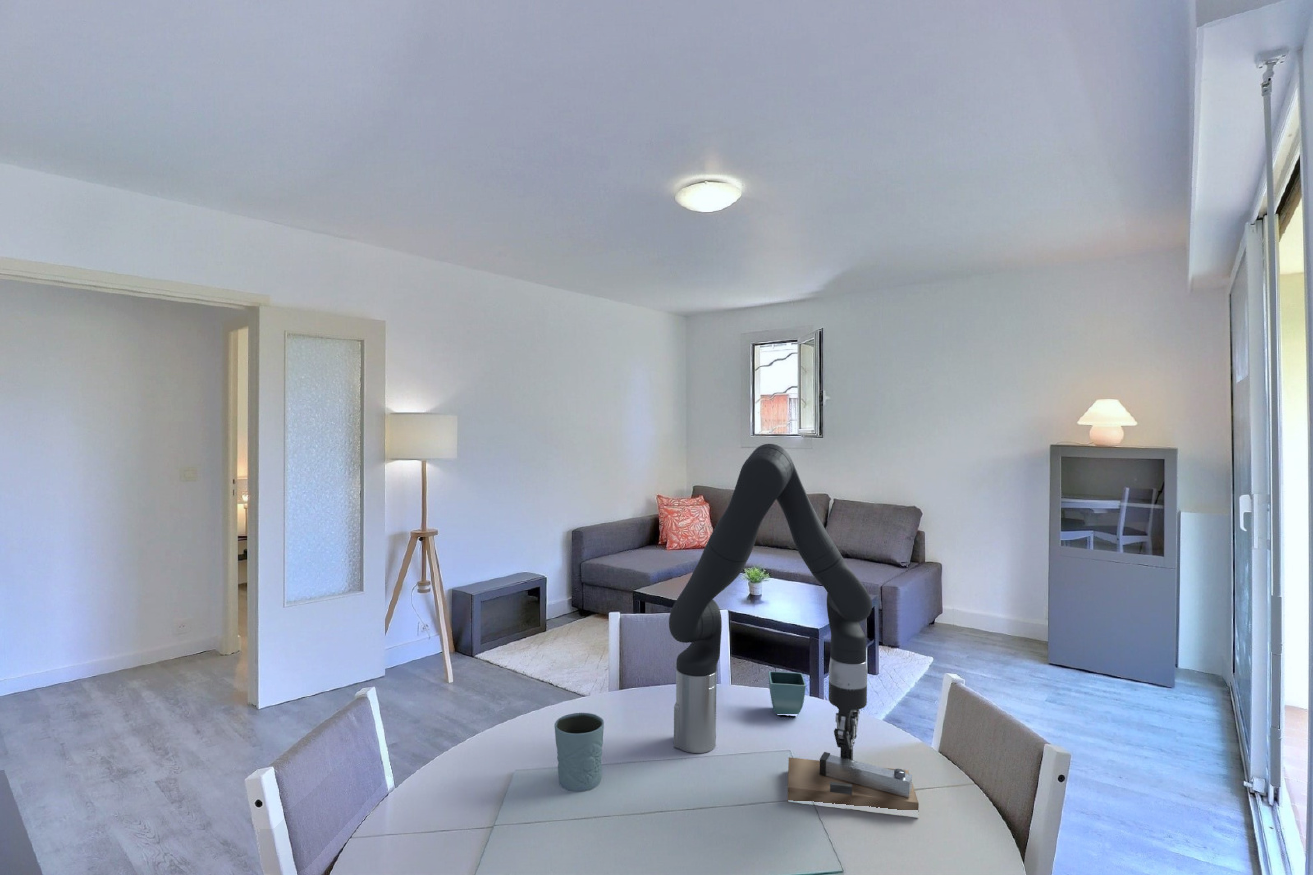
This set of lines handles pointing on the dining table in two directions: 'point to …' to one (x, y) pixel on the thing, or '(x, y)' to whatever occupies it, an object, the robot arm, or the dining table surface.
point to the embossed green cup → (579, 751)
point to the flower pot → (787, 692)
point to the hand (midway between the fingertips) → (846, 764)
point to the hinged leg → (866, 774)
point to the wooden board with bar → (839, 789)
